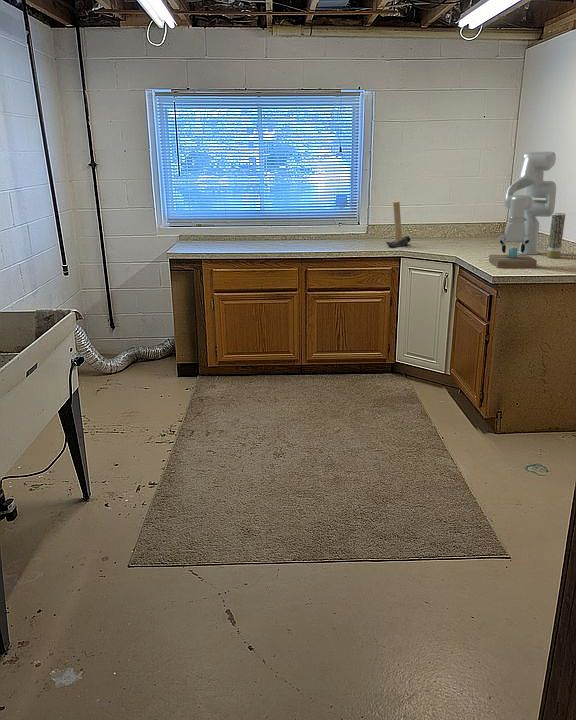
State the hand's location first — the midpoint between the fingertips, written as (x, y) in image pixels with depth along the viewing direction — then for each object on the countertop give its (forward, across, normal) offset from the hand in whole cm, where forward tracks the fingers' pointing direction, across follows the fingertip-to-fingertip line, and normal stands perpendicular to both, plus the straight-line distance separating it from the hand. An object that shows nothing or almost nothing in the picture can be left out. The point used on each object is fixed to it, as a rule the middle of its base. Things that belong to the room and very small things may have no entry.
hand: (512, 252), depth 325 cm
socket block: (+7, 0, 0) cm, 7 cm away
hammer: (+7, +55, -73) cm, 92 cm away
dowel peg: (+7, 0, 0) cm, 7 cm away
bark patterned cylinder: (+7, -30, -24) cm, 39 cm away
